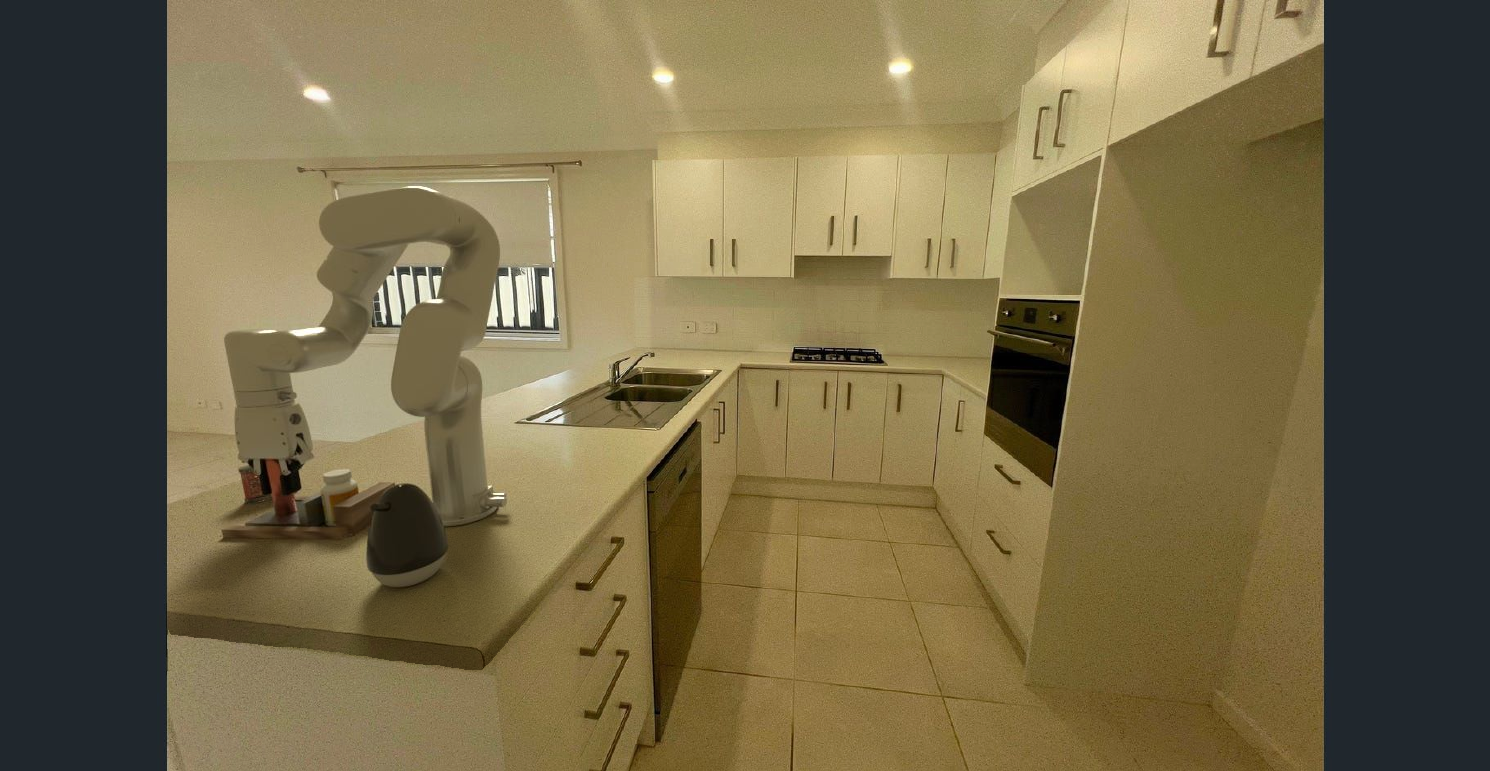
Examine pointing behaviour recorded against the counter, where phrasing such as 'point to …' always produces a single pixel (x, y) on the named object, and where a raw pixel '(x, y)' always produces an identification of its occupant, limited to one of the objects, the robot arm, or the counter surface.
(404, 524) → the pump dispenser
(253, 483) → the lighter
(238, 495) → the counter surface
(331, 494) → the supplement bottle
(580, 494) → the counter surface
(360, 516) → the bench clamp
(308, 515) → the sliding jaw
